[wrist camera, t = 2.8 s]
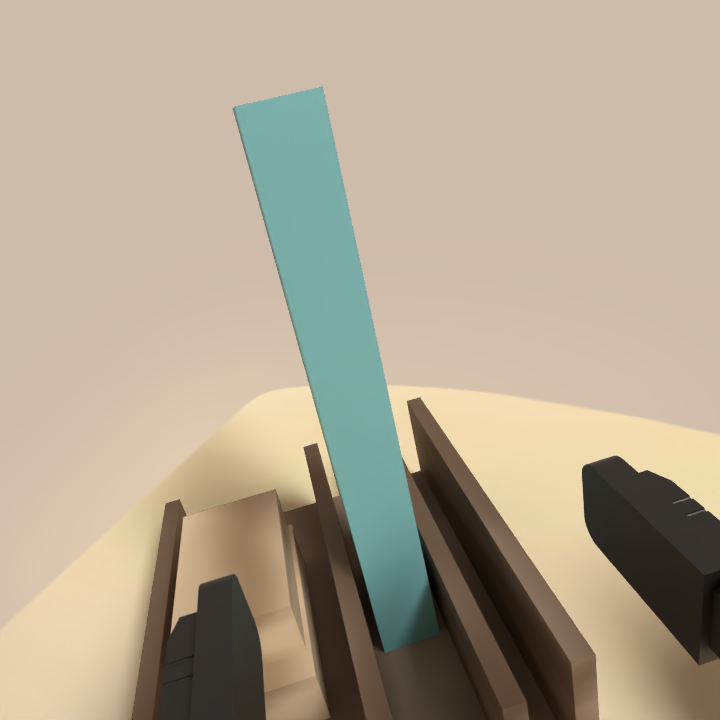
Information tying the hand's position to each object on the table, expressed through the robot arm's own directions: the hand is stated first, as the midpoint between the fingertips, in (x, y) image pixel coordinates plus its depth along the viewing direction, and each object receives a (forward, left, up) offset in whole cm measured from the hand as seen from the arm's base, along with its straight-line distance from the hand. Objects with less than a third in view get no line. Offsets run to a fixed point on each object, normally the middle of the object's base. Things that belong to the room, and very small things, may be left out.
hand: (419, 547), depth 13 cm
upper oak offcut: (-7, +11, -10) cm, 16 cm away
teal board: (0, +10, -13) cm, 16 cm away
